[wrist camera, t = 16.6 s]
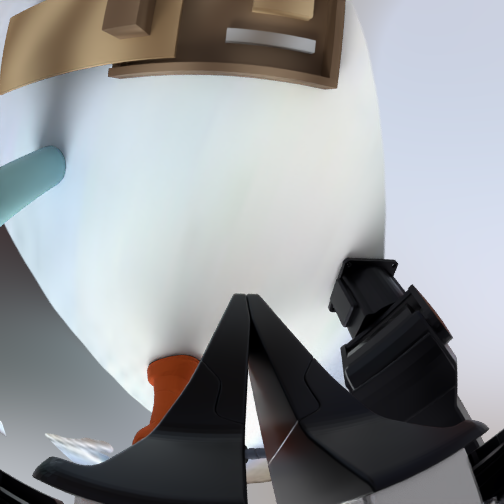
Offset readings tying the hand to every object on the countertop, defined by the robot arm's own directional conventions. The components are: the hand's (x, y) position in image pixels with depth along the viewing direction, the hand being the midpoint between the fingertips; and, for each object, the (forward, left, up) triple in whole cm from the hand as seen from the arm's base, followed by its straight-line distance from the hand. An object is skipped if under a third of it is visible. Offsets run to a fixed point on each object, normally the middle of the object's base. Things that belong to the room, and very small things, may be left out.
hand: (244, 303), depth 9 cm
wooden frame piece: (+1, -13, -13) cm, 18 cm away
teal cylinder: (+16, -2, -13) cm, 21 cm away
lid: (+12, -13, -10) cm, 21 cm away
